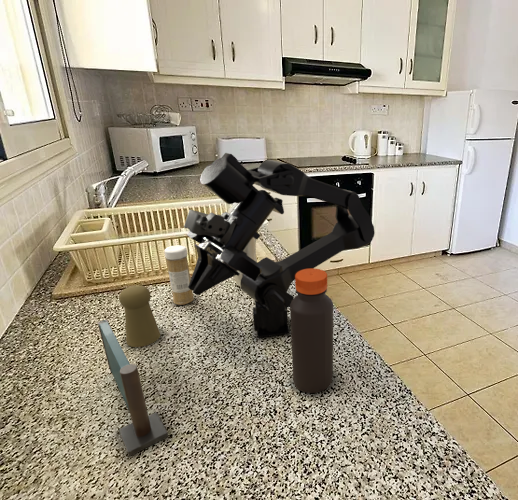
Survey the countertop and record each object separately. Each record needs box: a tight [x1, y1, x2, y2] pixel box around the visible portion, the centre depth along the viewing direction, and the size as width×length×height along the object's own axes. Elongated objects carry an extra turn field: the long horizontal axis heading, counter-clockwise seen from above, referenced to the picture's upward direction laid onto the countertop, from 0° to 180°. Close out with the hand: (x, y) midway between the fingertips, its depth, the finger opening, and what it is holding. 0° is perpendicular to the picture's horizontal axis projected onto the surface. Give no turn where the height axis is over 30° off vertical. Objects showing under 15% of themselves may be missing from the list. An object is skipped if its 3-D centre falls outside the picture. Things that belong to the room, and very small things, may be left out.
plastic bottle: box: [233, 238, 258, 288], centre depth 93 cm, size 6×7×20 cm
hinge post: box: [118, 363, 169, 457], centre depth 51 cm, size 5×5×12 cm
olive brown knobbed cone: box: [118, 284, 161, 348], centre depth 72 cm, size 6×6×11 cm
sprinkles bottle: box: [163, 244, 195, 306], centre depth 86 cm, size 5×5×14 cm
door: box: [97, 319, 131, 411], centre depth 57 cm, size 1×16×10 cm, turn 42°
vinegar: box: [289, 268, 334, 394], centre depth 60 cm, size 7×7×20 cm
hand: (192, 291), depth 64 cm, fingers closed
